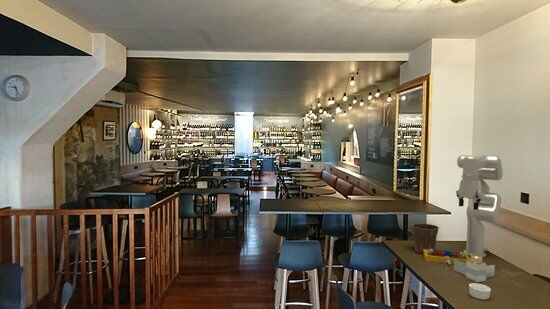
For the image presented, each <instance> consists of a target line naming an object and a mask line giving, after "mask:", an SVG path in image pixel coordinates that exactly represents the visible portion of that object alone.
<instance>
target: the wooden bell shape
mask: <svg viewBox="0 0 550 309" xmlns="http://www.w3.org/2000/svg"><path fill="white" fill-rule="evenodd" d="M470 259H471V262H472V263H475V264H482V262H483V257H481V256H479V255H471V256H470Z"/></svg>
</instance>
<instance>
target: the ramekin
mask: <svg viewBox="0 0 550 309" xmlns="http://www.w3.org/2000/svg"><path fill="white" fill-rule="evenodd" d="M468 289H469V292H468V293H469V295H470V296H471V297H472V298H474V299H477V300H486V301H487V300H488V299H489V298H490V295H491V291H492V289H491V288H490V287H489V286H487V285H485V284H481V283H478V282H473V283H469V284H468Z"/></svg>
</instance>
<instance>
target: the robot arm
mask: <svg viewBox="0 0 550 309" xmlns="http://www.w3.org/2000/svg"><path fill="white" fill-rule="evenodd" d="M456 164H457V166H458V168H460V169H462V175H461V178H462V179H461V180H460V182H459V188H458V190H456V191H455V194H456V197H457V199H458V207H465V206H464V205H465V200H464V199H468V200H469V199H471V201H472V204H469V205H468V206H467V207H466V217H467V219H466V220H467V225H466V246H465V247H466V248H465V249H463V253H465V254H467V255H468V256H469V257H471V255H479V256H481V257H482V258H485V257H487V253H485V252H487V251H489V248H488V247H485V246H484V245H485V225H484V224H483V223H482V221H483V222H490V223H496V222H497V221H498V220H499V216H500V210H501V205H502V197H501V195H500V194H499V193H497V192H491V191H490V190H491V188H490V186H489V184H488V183H487V182H486V180H487V181H501V180H502V179H503V175H504V172H503V165H502V164H503V163H502V160H501V158H500V157H499V155H493V154H491V155H490V154H489V155H488V154H471V155H470V154H469V155H463V154H461V155H459V156H458V157H457V161H456Z"/></svg>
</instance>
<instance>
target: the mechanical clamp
mask: <svg viewBox="0 0 550 309" xmlns="http://www.w3.org/2000/svg"><path fill="white" fill-rule="evenodd" d="M433 251H435V252H433ZM415 253H417V254H422V255H423V258H424V260H425V261H427V262H437V263H444V264H448V265H449V266H450V265H452V264H453V265H454V260H458V261H460V262H463V263H466V261H469V260H471V257H470V256H469V255H467V254H465V253H463V252H462V251H460V252H457V251H456V252H455V251H450V250H449V249H445V250H436V249H435V250H433V249H430V250H427V249H423V251H419V250H415Z"/></svg>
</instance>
